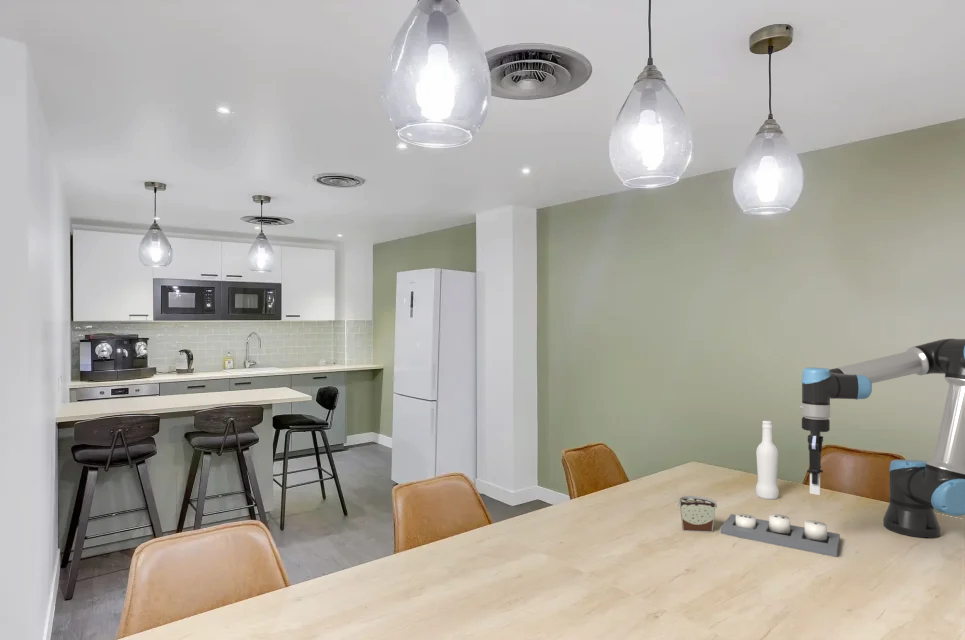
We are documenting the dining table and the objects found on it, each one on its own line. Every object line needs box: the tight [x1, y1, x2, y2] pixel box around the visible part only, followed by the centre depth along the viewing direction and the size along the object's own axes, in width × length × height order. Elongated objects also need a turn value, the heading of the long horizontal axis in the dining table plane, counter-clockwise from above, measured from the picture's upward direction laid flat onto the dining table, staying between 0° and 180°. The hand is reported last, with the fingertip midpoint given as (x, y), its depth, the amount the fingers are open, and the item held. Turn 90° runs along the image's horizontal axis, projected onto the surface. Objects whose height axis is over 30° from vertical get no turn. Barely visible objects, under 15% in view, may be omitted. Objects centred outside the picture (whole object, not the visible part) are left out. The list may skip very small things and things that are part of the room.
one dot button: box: [803, 520, 828, 541], centre depth 176 cm, size 6×6×4 cm
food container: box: [677, 495, 718, 533], centre depth 189 cm, size 12×6×10 cm, turn 84°
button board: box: [720, 513, 841, 558], centre depth 182 cm, size 32×16×2 cm, turn 55°
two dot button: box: [768, 513, 791, 534], centre depth 182 cm, size 6×6×4 cm
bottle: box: [755, 420, 780, 501], centre depth 225 cm, size 8×8×30 cm
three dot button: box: [735, 513, 757, 529], centre depth 188 cm, size 6×6×4 cm
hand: (814, 493), depth 177 cm, fingers closed
